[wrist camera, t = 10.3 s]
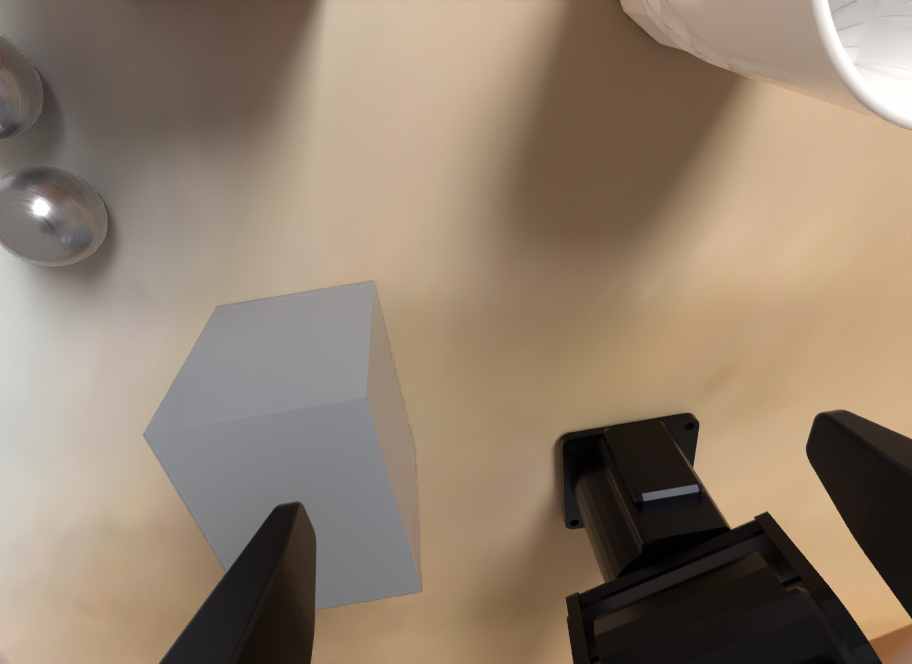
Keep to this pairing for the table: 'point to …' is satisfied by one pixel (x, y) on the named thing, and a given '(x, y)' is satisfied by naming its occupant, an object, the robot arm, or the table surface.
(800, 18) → the white cup
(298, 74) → the table surface
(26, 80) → the marble
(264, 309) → the pale grey box
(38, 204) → the marble
